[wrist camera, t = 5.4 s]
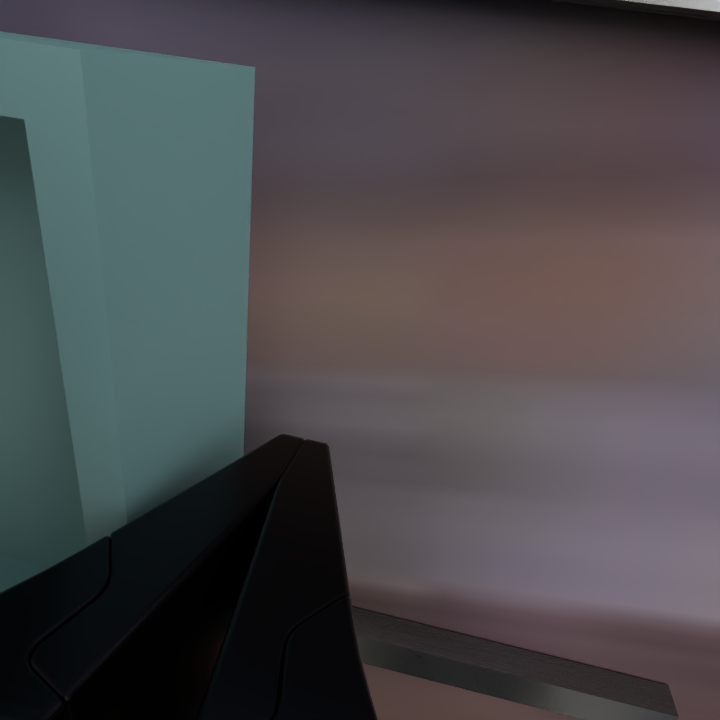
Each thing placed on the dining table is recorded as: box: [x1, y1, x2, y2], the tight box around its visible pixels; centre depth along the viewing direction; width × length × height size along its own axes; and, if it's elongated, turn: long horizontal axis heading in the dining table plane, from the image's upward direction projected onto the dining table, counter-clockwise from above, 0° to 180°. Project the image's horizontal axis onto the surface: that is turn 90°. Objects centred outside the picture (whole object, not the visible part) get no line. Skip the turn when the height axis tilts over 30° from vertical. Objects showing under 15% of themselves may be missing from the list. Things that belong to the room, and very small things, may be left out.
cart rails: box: [352, 0, 720, 720], centre depth 11 cm, size 16×29×2 cm, turn 83°
